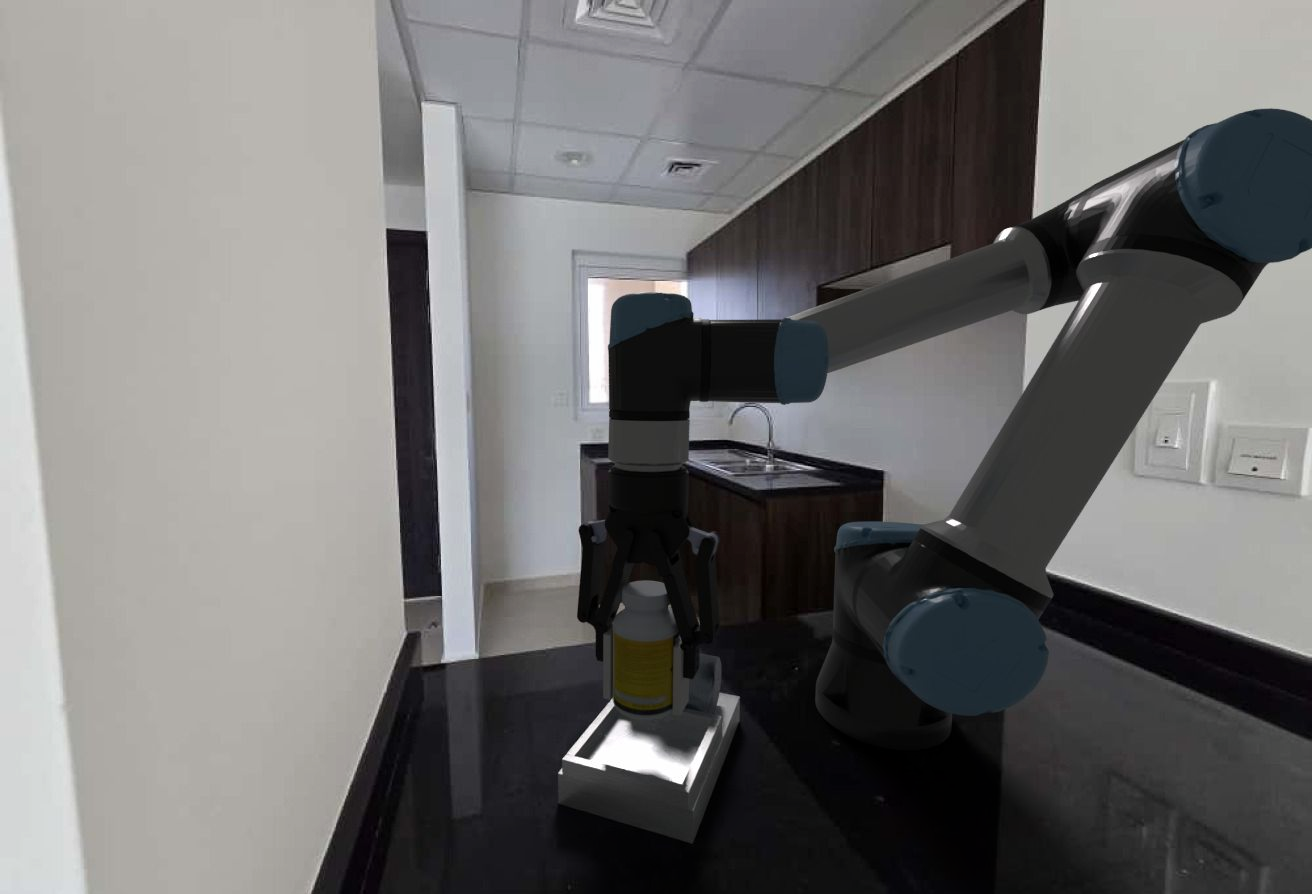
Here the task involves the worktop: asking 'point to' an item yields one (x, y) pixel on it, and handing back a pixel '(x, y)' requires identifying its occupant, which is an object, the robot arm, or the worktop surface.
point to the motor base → (654, 760)
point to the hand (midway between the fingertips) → (645, 699)
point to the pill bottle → (644, 652)
